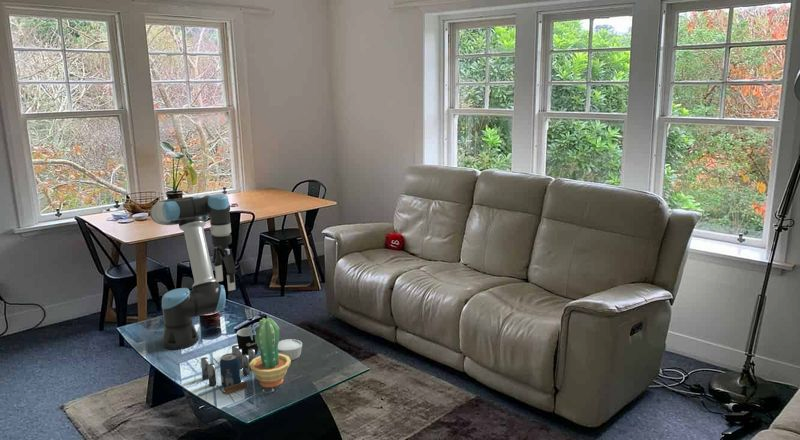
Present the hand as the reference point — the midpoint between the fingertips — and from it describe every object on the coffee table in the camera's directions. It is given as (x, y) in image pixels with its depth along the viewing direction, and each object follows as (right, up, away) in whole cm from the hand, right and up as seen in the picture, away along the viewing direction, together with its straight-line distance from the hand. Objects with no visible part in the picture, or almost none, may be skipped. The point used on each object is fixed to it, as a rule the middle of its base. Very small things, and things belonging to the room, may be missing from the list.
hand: (225, 285), depth 244 cm
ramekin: (+24, -30, +9) cm, 40 cm away
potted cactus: (+21, -35, -12) cm, 43 cm away
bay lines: (+7, -36, -16) cm, 40 cm away
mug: (+8, -30, +12) cm, 33 cm away
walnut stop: (+9, -37, -19) cm, 43 cm away
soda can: (+7, -36, -15) cm, 40 cm away
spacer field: (+3, -34, -5) cm, 34 cm away
